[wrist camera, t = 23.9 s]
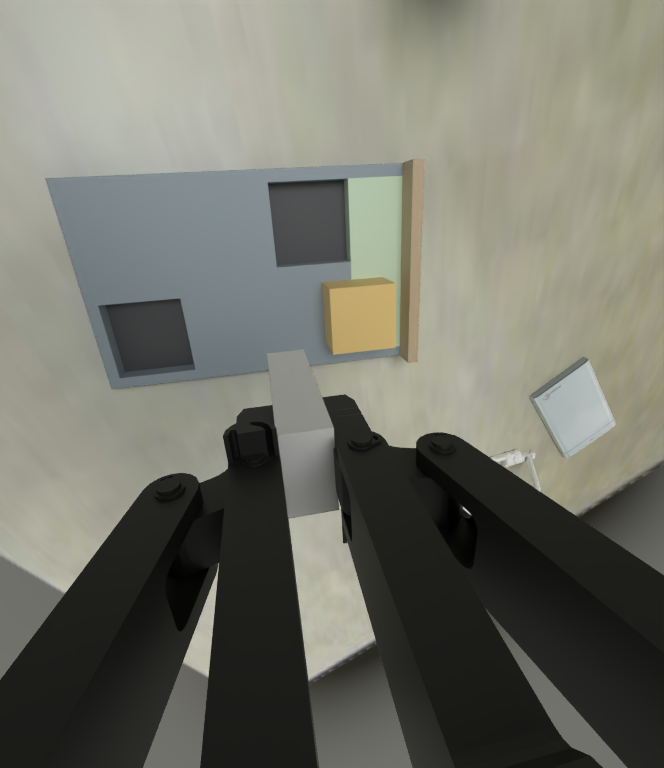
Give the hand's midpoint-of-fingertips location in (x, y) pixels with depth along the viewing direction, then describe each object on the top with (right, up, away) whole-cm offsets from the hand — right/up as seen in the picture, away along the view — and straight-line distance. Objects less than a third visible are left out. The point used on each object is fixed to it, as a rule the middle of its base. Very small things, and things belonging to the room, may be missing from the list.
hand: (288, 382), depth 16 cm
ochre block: (+4, +7, +22) cm, 24 cm away
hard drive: (+34, -3, +36) cm, 50 cm away
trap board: (-6, +10, +21) cm, 24 cm away
